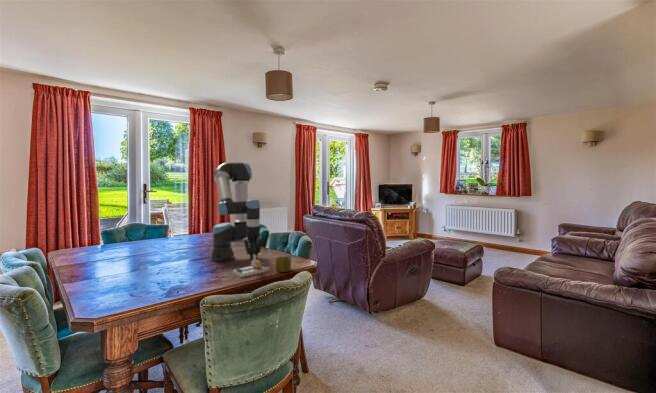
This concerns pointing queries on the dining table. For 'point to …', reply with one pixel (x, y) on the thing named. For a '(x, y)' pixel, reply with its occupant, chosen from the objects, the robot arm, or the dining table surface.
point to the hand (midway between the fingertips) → (253, 265)
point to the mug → (283, 264)
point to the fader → (257, 264)
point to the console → (250, 270)
